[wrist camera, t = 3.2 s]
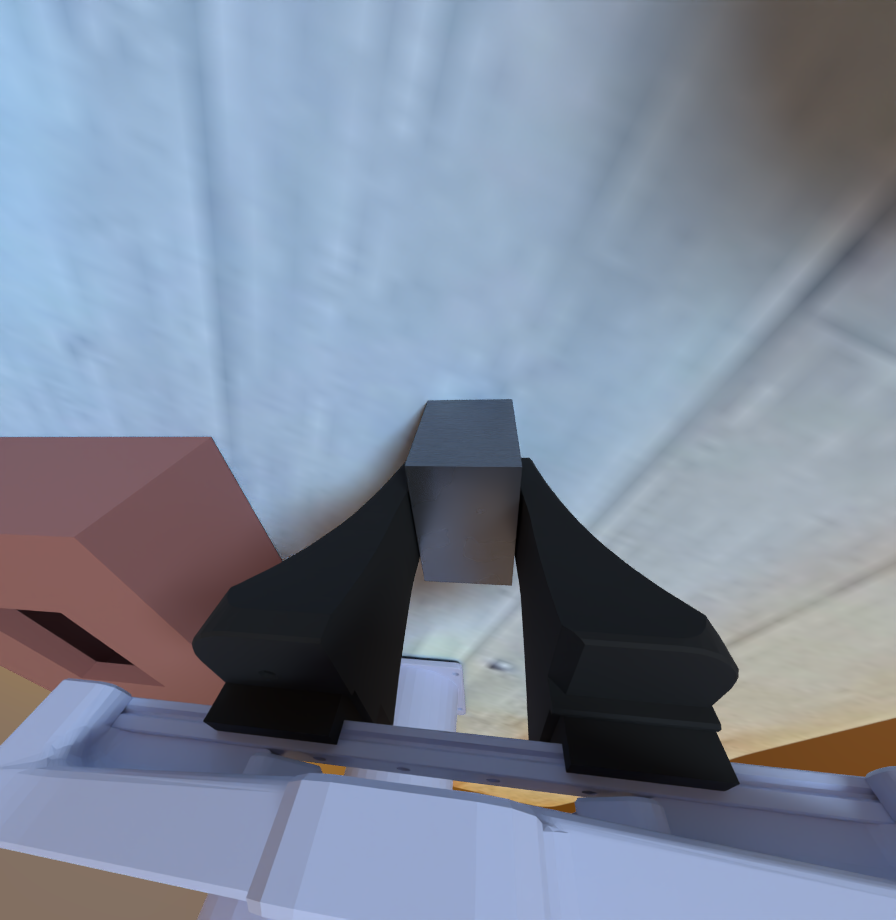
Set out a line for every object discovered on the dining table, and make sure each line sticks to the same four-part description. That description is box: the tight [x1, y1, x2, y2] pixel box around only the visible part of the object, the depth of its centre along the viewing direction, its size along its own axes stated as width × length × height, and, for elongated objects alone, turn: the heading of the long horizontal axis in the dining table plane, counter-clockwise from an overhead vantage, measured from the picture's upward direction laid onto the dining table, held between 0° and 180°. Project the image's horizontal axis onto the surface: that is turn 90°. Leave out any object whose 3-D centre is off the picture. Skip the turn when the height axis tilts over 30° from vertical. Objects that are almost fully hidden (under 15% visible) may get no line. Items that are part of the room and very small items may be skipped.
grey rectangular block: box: [405, 399, 522, 586], centre depth 11 cm, size 5×3×4 cm, turn 4°
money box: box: [0, 437, 282, 706], centre depth 17 cm, size 16×14×6 cm
